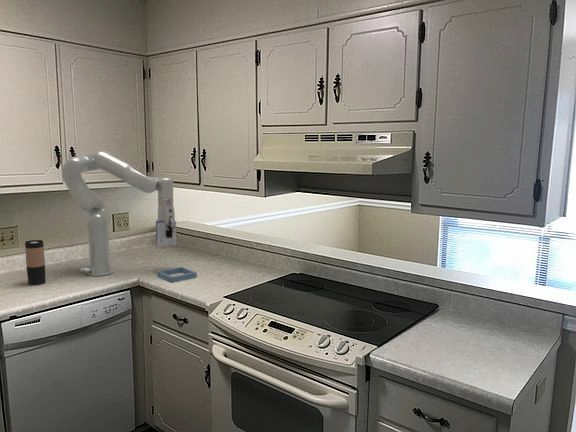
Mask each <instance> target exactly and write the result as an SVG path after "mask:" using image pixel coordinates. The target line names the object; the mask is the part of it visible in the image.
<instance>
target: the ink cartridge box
mask: <svg viewBox="0 0 576 432" xmlns="http://www.w3.org/2000/svg"><path fill="white" fill-rule="evenodd" d="M168 224H170V223H168ZM169 226H170V225H168V227H169ZM166 230H167V227H166V225H165V224H164V222H161V221H157V220H156V221H155V245H156V246H161V247H162V246H175V245H177V221H176V220H175V224H174V226H173V230H172V237H170V238H166Z"/></svg>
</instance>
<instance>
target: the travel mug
mask: <svg viewBox="0 0 576 432" xmlns="http://www.w3.org/2000/svg"><path fill="white" fill-rule="evenodd" d="M24 247H25V250H24V251H25V264H26V273H27V281H28V282H27V283H28V285H29V286H41V285H43V284H46V261H45V249H44V248H45V246H44V240H42V239H41V240H40V239H34V240H33V239H32V240H27V241H25V242H24Z"/></svg>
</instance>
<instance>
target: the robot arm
mask: <svg viewBox="0 0 576 432" xmlns="http://www.w3.org/2000/svg"><path fill="white" fill-rule="evenodd" d="M96 170H102V171H104V172H106V173H108V174H110V175H112V176H114V177H116V178H118V179H120V180H121V181H123V182H124V183H127V184H129V185H130V186H131V187H134V188H135V189H138V190H139V191H142V192H143V193H147V194H151V193H153V192H157V205H158V206H157V219H156V221H161V222H164V224H165V225H166V227H167V230H166V238H170V237H172V230H173V226H174V224H175V221H176V217H175V207H174V180H173V178H171V177H157V176H147V175H145V174H143V173H141V172H139V171H137V170H136V169H135V168H133V166H131V164H129V163H128V162H126V161H124V160H122V159H120V158H118V157H116V156H114V155H112V153H111V152H110V151H108V150H104V149H102V150H97V151H95V152H92V153H87V154H83V155H78V156H72V157H70V158H69V159H67V160H66V161H65V163H64V164H63V165H62V169H61V177H62V180H63V182H64V184H65V185H66V186H65V187H67V189H68V191H69V192H70V194H71V196H72V198H73V199H74V202H75V203H76V205H77V207H78V208H79V210H81V211H83V212H86V213H87V214H88V217H87V219H86V230H87V237H88V238H87V239H88V254H89V255H88V257H89V264H87V266H86V267H80V268H79V272H81V273H82V272H84V273H86V275H87V276H90V277H104V276H109V275H111V274H113V273H114V271H115V270H114V268H112V267H111V260H110V259H111V257H110V255H111V253H110V238H109V237H110V235H109V231H108V230H109V229H108V226H109V224H111V221H112V215H111V212H110V211H109V209H108V207H107V206H106V205H105V203H104V201H103V199H102V197H101V195H99V193H97V192H96V191H94V190H91V189H90V188H89V186H88V184H87V182H86V181H85V179H84V178H83V176H82V174H84V173H87V172H92V171H96ZM168 223H170V224H168ZM168 225H170V226H169V227H168Z"/></svg>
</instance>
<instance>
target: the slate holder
mask: <svg viewBox="0 0 576 432" xmlns="http://www.w3.org/2000/svg"><path fill="white" fill-rule="evenodd" d="M156 273H157V275H156V277H158V278H160V279H162V280H165V281H167V282H170V283H177V282H181V280H182V281H186V280H191V279H193V278H194V279H195V278H197V277H198V275H197V273H198V272H197V271H195V270H192V269H189V268H187V267H184V266H177V267H173V268H168V269H164V270H162V269H161V270H158V271H157V272H156ZM178 273H182V274H179V275H174V274H178ZM171 275H174V276H171Z"/></svg>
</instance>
